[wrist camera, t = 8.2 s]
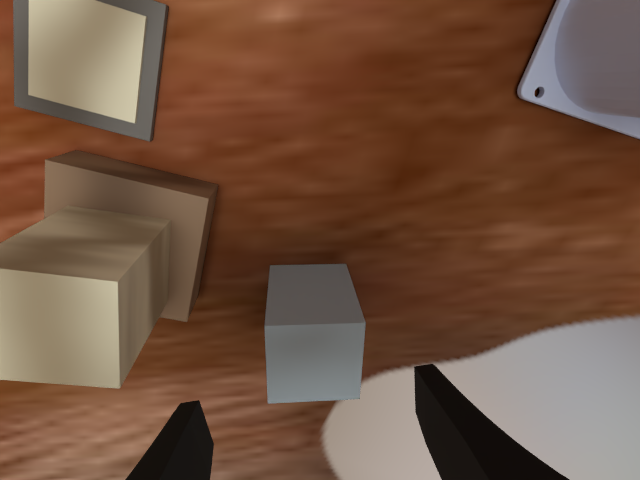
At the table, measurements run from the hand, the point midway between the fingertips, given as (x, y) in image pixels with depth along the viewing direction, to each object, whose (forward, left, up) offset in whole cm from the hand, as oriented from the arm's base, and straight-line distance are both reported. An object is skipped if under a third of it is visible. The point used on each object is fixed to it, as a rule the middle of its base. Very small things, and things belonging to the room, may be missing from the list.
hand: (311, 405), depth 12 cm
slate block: (-1, +2, -10) cm, 11 cm away
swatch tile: (+12, -8, -10) cm, 18 cm away
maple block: (+9, 0, -8) cm, 12 cm away
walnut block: (+9, 0, -11) cm, 14 cm away
